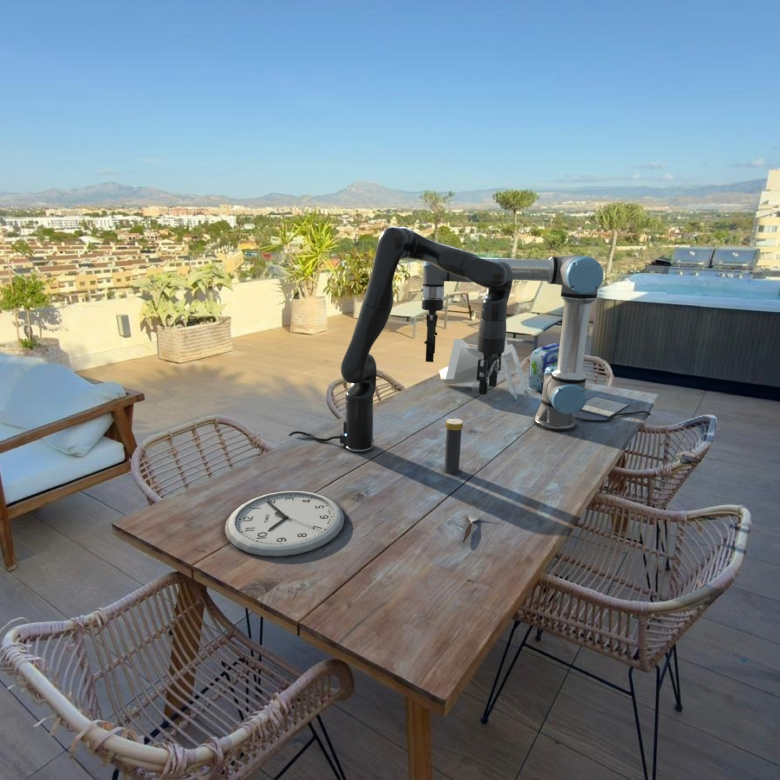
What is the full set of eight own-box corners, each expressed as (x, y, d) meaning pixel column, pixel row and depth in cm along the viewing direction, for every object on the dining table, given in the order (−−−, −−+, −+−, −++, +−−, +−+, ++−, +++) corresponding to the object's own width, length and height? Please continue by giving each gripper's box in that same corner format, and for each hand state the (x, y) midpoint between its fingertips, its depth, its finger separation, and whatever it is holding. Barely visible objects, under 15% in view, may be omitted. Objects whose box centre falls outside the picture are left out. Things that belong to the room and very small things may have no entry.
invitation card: (608, 416, 214) (573, 407, 224) (608, 416, 214) (573, 408, 224) (628, 404, 229) (594, 396, 238) (628, 405, 229) (594, 397, 238)
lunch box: (544, 395, 239) (549, 351, 233) (524, 390, 247) (528, 347, 240) (571, 384, 257) (577, 343, 251) (552, 380, 264) (556, 339, 258)
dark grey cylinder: (452, 475, 161) (454, 426, 157) (441, 470, 165) (444, 422, 160) (461, 471, 164) (464, 423, 159) (451, 466, 167) (454, 419, 163)
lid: (454, 431, 157) (455, 425, 156) (442, 426, 160) (442, 420, 160) (466, 427, 160) (466, 421, 159) (453, 423, 164) (454, 417, 163)
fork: (457, 543, 126) (458, 536, 126) (471, 511, 141) (471, 504, 140) (468, 545, 125) (468, 538, 125) (480, 513, 140) (481, 506, 139)
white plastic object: (461, 429, 252) (437, 405, 227) (444, 352, 274) (420, 323, 250) (535, 404, 240) (518, 377, 215) (510, 326, 262) (492, 293, 237)
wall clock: (344, 547, 121) (211, 552, 118) (344, 554, 121) (212, 558, 119) (344, 486, 149) (237, 489, 147) (344, 491, 150) (237, 494, 147)
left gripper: (487, 329, 154) (483, 382, 158) (470, 337, 142) (466, 394, 146) (512, 332, 150) (507, 386, 155) (497, 341, 138) (492, 399, 143)
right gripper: (424, 293, 195) (422, 349, 202) (419, 302, 172) (417, 365, 178) (444, 294, 195) (441, 350, 201) (442, 303, 171) (439, 366, 177)
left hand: (487, 390), depth 151 cm, fingers open, 8 cm apart
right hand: (430, 357), depth 190 cm, fingers open, 13 cm apart
